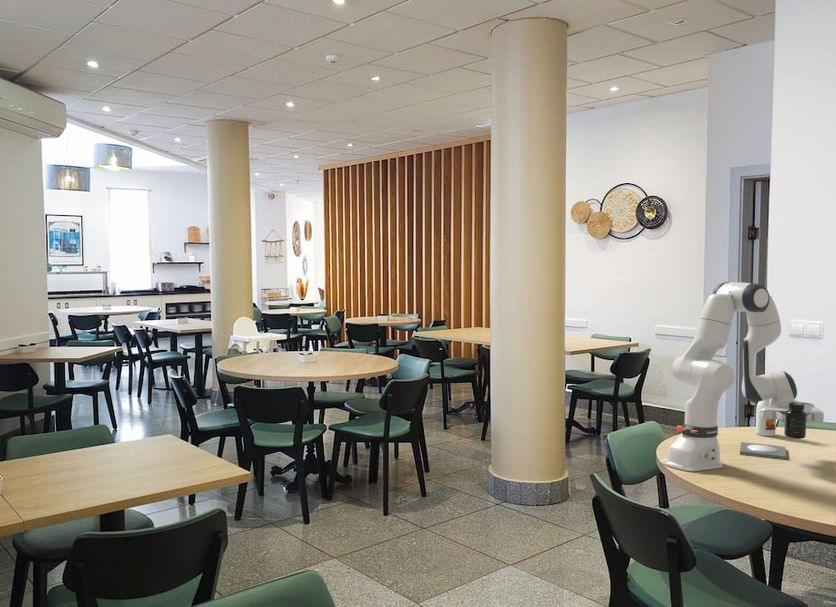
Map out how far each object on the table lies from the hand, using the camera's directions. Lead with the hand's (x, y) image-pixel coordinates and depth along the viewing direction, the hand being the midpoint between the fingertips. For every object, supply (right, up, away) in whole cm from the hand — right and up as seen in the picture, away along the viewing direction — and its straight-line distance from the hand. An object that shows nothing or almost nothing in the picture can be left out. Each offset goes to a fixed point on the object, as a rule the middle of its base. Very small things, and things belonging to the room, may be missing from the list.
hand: (796, 418), depth 248 cm
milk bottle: (+16, -16, +54) cm, 59 cm away
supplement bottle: (0, -7, +1) cm, 7 cm away
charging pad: (+1, -17, +26) cm, 31 cm away
